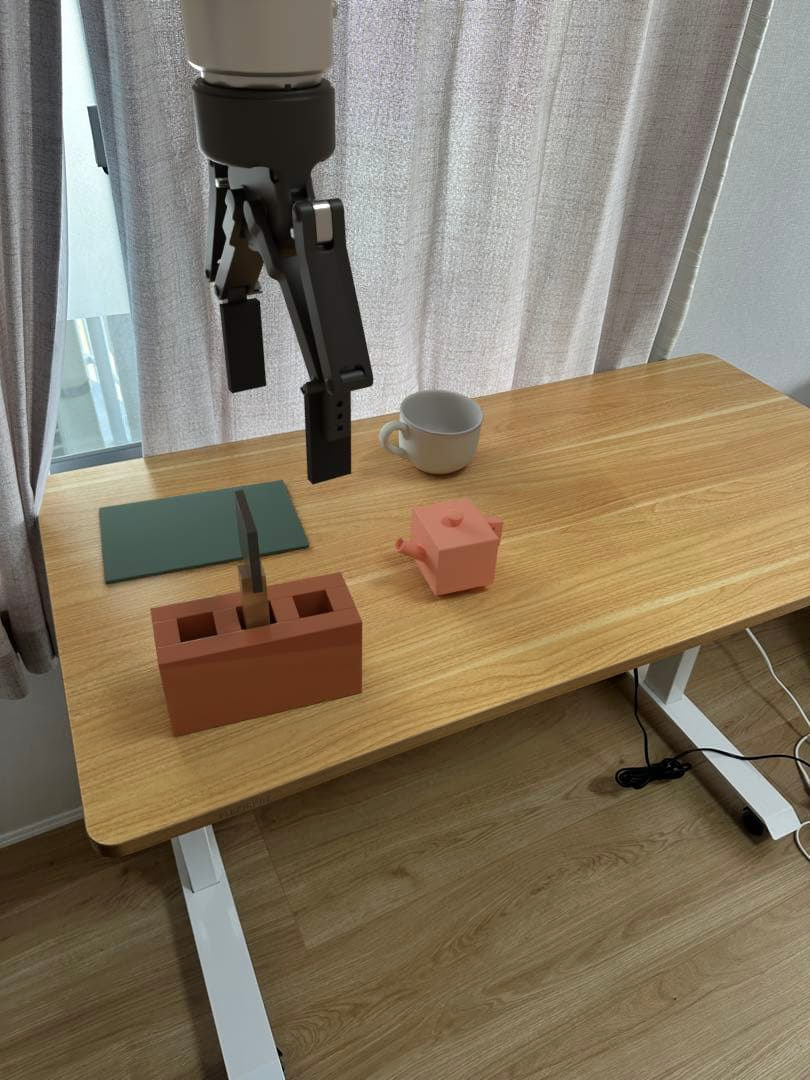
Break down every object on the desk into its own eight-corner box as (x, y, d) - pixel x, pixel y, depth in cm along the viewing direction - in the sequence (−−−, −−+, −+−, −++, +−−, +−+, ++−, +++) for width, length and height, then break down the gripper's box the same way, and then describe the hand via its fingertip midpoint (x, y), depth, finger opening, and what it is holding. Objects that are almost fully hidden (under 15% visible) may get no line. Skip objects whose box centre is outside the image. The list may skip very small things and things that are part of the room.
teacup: (460, 437, 112) (465, 384, 107) (491, 478, 104) (497, 423, 99) (364, 450, 108) (364, 397, 103) (388, 494, 100) (389, 438, 95)
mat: (105, 584, 85) (105, 581, 85) (99, 510, 95) (99, 507, 95) (309, 547, 91) (309, 545, 91) (282, 482, 102) (282, 479, 101)
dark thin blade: (259, 712, 72) (238, 534, 60) (246, 665, 77) (225, 491, 64) (281, 707, 73) (265, 530, 60) (267, 661, 77) (250, 487, 65)
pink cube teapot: (381, 564, 89) (383, 503, 84) (480, 544, 93) (487, 484, 88) (405, 609, 84) (408, 547, 79) (509, 587, 87) (519, 525, 82)
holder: (362, 692, 74) (362, 621, 69) (173, 737, 70) (158, 664, 64) (341, 641, 80) (340, 571, 74) (165, 679, 75) (150, 607, 69)
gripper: (453, 113, 36) (427, 506, 49) (241, 43, 52) (264, 349, 65) (297, 125, 32) (314, 541, 45) (125, 46, 49) (173, 367, 62)
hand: (285, 428), depth 55 cm, fingers open, 13 cm apart
